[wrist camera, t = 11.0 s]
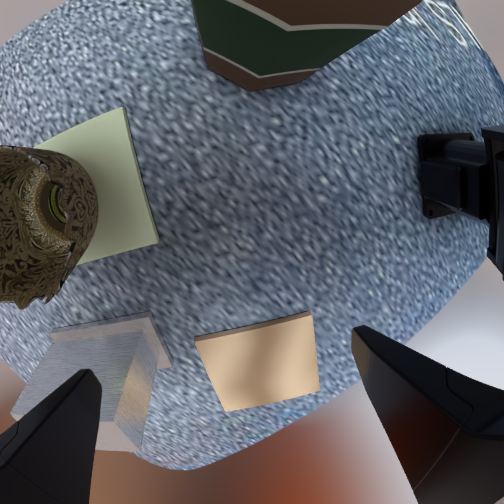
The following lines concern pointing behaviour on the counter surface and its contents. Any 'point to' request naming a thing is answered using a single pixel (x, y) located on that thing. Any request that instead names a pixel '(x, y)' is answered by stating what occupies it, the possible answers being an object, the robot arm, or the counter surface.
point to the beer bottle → (285, 35)
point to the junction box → (105, 373)
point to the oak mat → (262, 361)
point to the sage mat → (110, 183)
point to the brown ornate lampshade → (42, 222)
